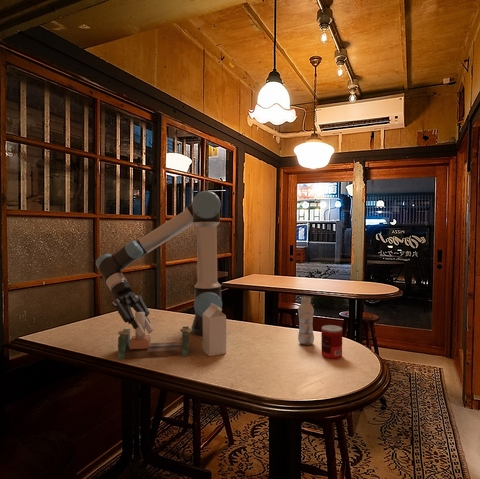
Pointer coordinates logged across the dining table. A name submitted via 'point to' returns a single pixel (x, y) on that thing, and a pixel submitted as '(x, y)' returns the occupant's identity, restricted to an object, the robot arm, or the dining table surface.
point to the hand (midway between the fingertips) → (146, 333)
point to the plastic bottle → (306, 321)
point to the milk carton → (214, 331)
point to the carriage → (136, 340)
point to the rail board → (153, 346)
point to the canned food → (331, 342)
